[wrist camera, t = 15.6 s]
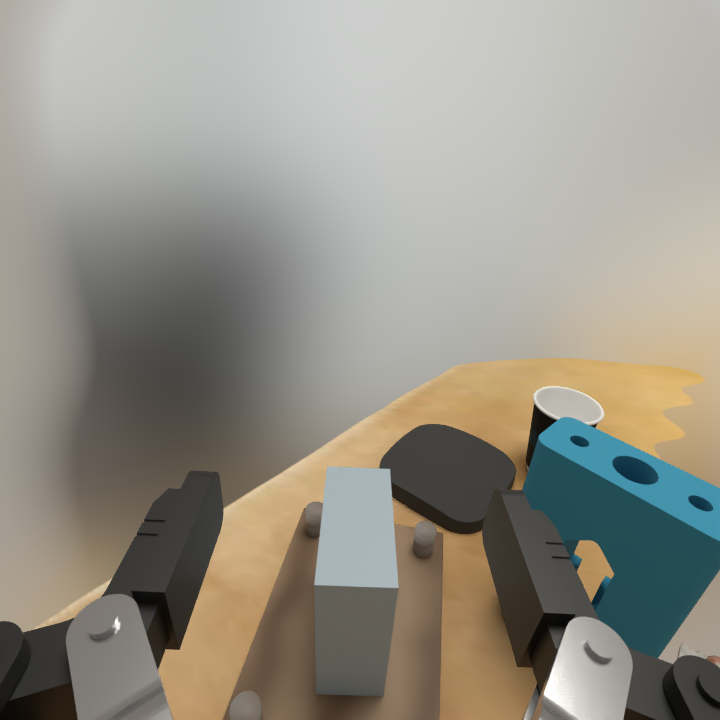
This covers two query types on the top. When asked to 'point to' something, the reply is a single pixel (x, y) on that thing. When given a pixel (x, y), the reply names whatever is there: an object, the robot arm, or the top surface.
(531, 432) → the dixie cup
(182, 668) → the top surface
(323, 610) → the grey rectangular box
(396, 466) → the media streaming box
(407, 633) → the peg stand
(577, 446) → the block
